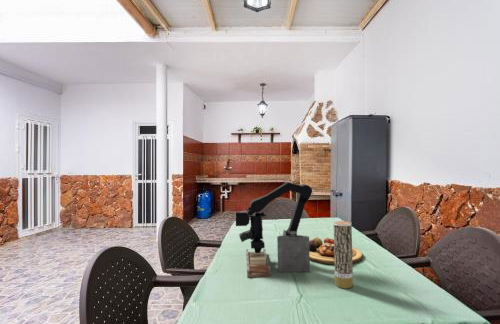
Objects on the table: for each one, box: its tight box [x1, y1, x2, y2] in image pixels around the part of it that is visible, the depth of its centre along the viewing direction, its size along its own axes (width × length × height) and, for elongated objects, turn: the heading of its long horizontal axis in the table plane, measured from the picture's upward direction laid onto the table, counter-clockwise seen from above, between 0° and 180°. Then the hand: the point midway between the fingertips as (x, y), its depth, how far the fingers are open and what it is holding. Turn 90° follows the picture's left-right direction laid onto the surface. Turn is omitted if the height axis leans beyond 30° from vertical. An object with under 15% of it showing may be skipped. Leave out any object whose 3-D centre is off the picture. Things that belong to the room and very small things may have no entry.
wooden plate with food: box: [309, 236, 364, 265], centre depth 146 cm, size 32×32×8 cm
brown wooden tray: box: [245, 248, 272, 278], centre depth 134 cm, size 30×10×4 cm, turn 2°
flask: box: [276, 231, 311, 274], centre depth 125 cm, size 4×14×18 cm, turn 85°
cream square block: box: [250, 253, 266, 265], centre depth 128 cm, size 7×7×5 cm
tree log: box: [333, 220, 354, 289], centre depth 109 cm, size 7×7×25 cm
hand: (257, 257), depth 134 cm, fingers closed
